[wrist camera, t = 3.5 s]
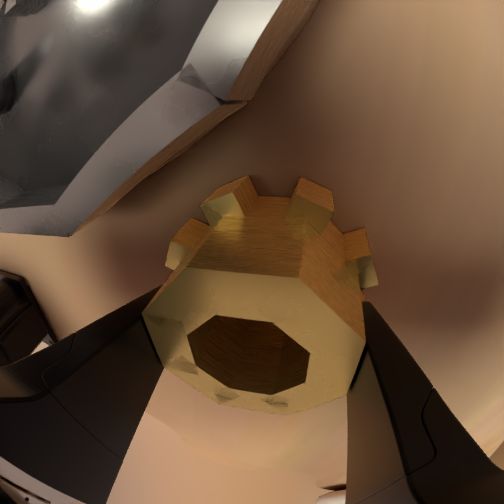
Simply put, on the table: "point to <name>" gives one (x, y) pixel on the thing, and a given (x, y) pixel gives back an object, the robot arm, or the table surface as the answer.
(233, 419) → the table surface
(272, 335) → the planet gear
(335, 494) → the flower in vase
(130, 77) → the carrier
